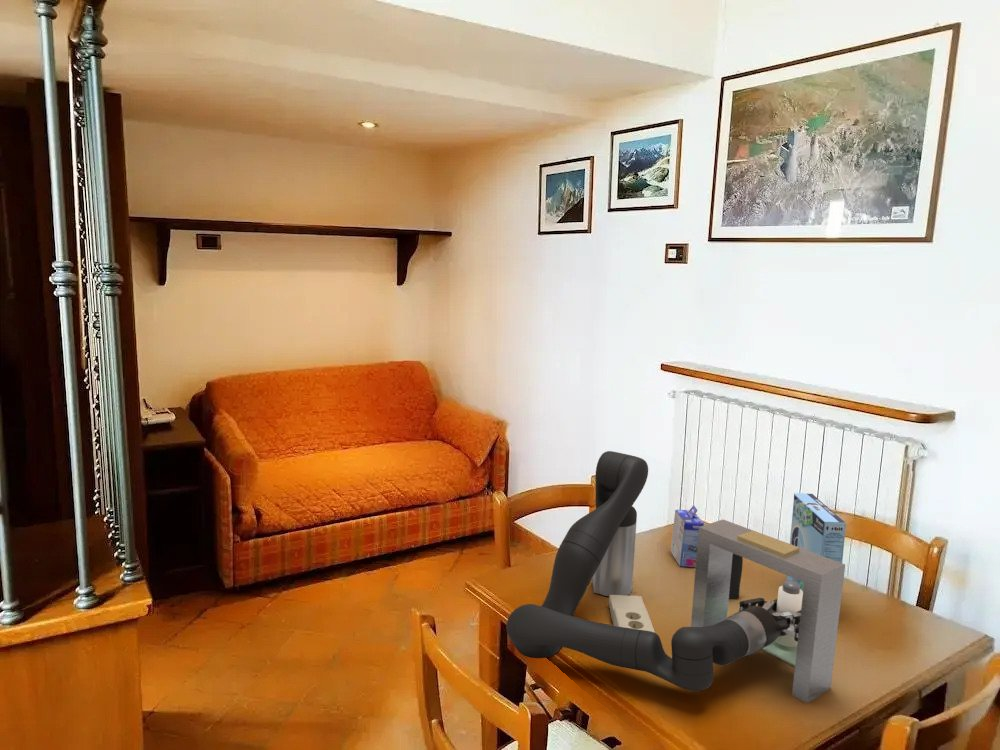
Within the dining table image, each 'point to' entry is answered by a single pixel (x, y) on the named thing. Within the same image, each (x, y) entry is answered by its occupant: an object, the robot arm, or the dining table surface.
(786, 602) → the bottle
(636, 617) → the electrical outlet
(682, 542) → the ink cartridge box
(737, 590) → the black rounded block
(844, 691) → the dining table surface
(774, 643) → the mat
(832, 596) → the arch
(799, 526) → the gum box
